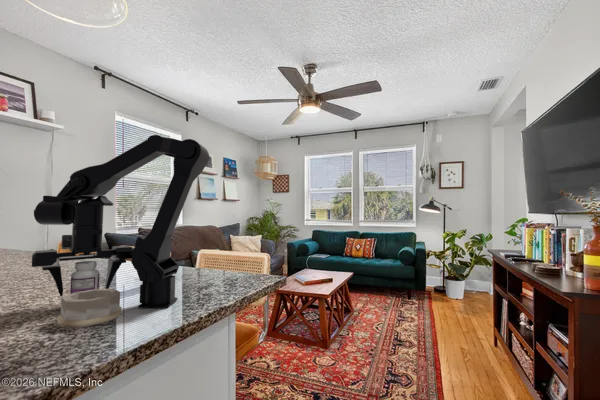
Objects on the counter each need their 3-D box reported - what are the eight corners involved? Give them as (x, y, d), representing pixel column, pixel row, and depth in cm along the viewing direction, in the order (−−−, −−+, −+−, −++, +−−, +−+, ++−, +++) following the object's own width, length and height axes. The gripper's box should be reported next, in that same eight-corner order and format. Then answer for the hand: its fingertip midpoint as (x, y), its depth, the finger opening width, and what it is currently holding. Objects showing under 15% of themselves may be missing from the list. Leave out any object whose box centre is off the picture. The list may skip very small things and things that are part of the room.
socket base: (130, 308, 64) (131, 287, 64) (102, 326, 53) (103, 302, 54) (81, 309, 63) (82, 288, 63) (42, 327, 53) (43, 302, 53)
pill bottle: (79, 300, 69) (81, 260, 70) (103, 300, 69) (105, 260, 70) (63, 308, 64) (65, 264, 64) (88, 307, 64) (90, 263, 65)
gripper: (125, 223, 80) (123, 280, 79) (34, 224, 67) (30, 292, 66) (136, 224, 72) (133, 288, 71) (33, 226, 59) (29, 303, 58)
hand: (84, 292), depth 67 cm, fingers open, 8 cm apart
